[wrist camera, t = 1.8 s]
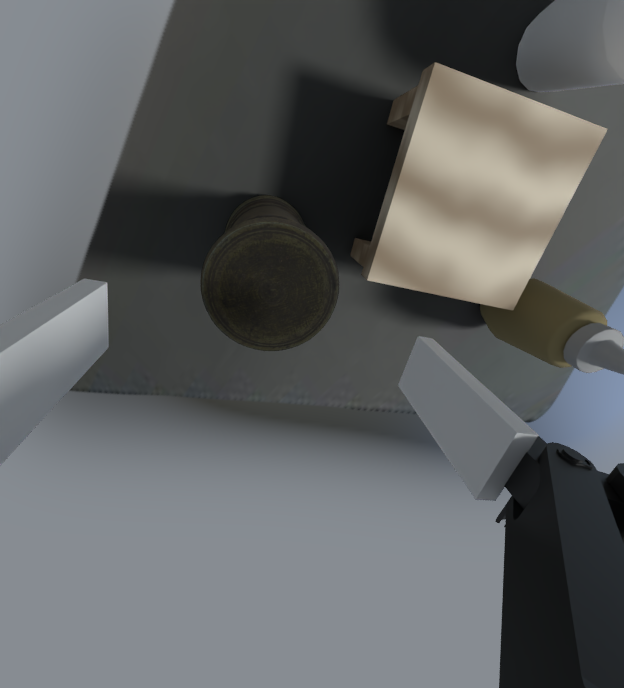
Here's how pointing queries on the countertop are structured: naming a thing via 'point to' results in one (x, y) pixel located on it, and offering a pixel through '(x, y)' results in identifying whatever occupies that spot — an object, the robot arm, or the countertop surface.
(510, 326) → the squeeze bottle
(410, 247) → the beige flat-topped legged fixture
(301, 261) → the container
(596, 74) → the foam cup
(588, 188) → the countertop surface
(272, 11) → the countertop surface
